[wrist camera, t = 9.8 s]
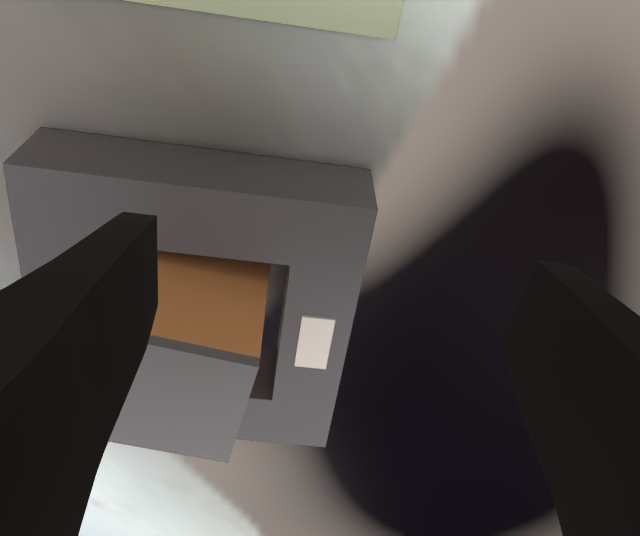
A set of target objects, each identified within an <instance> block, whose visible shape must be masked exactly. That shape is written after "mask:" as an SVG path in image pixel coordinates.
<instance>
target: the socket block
mask: <svg viewBox="0 0 640 536" xmlns="http://www.w3.org/2000/svg"><path fill="white" fill-rule="evenodd" d="M3 169H4V175H5V181H6V187H7V193H8V199H9V205H10V211H11V217H12V223H13V228H14V234H15V240H16V246H17V252H18V258H19V264H20V270H21V276H22V277H24V276H26V275H27V274H29V273H31V272H32V271H34V270H36V269H38V268H39V267H41V266H43V265H44V264H46V263H48V262H49V261H51V260H52V259H54V258H56V257H57V256H59V255H60V254H61V253H63V252H64V251H66V250H67V249H69V248H70V247H72V246H73V245H75V244H76V243H78V242H79V241H81V240H82V239H84V238H85V237H87V236H88V235H90V234H91V233H92V232H94V231H95V230H97V229H98V228H100V227H101V226H102V225H104V224H105V223H107V222H108V221H110V220H111V219H112V218H114V217H115V216H117V215H118V214H120V213H122V212H131V213H140V214H148V215H156V216H157V251H165V252H174V253H182V254H191V255H200V256H209V257H218V258H226V259H235V260H244V261H253V262H261V263H270V264H279V265H287V273H286V280H285V288H284V296H283V303H282V311H281V319H280V326H279V333H278V341H277V348H276V349H267V348H261V353H260V362H259V369H258V372H257V375H256V378H255V381H254V384H253V387H252V390H251V393H250V396H249V399H248V403H247V406H246V409H245V412H244V415H243V418H242V421H241V424H240V427H239V430H238V433H237V436H236V439H240V440H252V441H262V442H274V443H285V444H296V445H307V446H318V447H326V442H327V437H328V433H329V428H330V424H331V419H332V415H333V410H334V406H335V401H336V397H337V392H338V387H339V383H340V379H341V374H342V369H343V365H344V360H345V356H346V351H347V347H348V342H349V337H350V333H351V329H352V324H353V320H354V315H355V310H356V306H357V301H358V297H359V292H360V288H361V283H362V279H363V274H364V270H365V265H366V261H367V256H368V252H369V247H370V242H371V238H372V233H373V229H374V224H375V219H376V215H377V210H378V209H377V203H376V197H375V191H374V186H373V180H372V174H371V170H370V169H362V168H355V167H347V166H339V165H331V164H324V163H316V162H308V161H300V160H292V159H285V158H277V157H269V156H261V155H253V154H246V153H238V152H230V151H222V150H215V149H207V148H199V147H191V146H183V145H176V144H168V143H160V142H152V141H144V140H137V139H129V138H121V137H113V136H106V135H98V134H90V133H82V132H74V131H67V130H59V129H51V128H43V127H40V128H39V129H38V130H37V131H36V132H35V133H34V134H33V135H32V136H31V137H30V138H29V139H28V140H27V141H26V142H25V143H24V144H23V145H22V146H20V147H19V148H18V149H17V150H16V151H15V152H14V153H13V154H12V155H11V156H10V157H9V158H8V159H7V160H6V161H5V162H4V163H3Z"/></svg>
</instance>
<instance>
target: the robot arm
mask: <svg viewBox="0 0 640 536" xmlns="http://www.w3.org/2000/svg"><path fill="white" fill-rule="evenodd" d="M157 307H158V254H157V216H156V215H148V214H140V213H131V212H122V213H120V214H118V215H117V216H115V217H114V218H112V219H111V220H110V221H108V222H107V223H105V224H104V225H102V226H101V227H100V228H98V229H97V230H95V231H94V232H92V233H91V234H90V235H88V236H87V237H85V238H84V239H82V240H81V241H79V242H78V243H76V244H75V245H73V246H72V247H70V248H69V249H67V250H66V251H64V252H63V253H61V254H60V255H59V256H57V257H56V258H54V259H52V260H51V261H49V262H48V263H46V264H44V265H43V266H41V267H39V268H38V269H36V270H34V271H32V272H31V273H29V274H27V275H26V276H24V277H22V278H21V279H19V280H17V281H16V282H14V283H12V284H11V285H9V286H7V287H6V288H4V289H2V290H0V536H78V534H79V530H80V527H81V523H82V520H83V517H84V513H85V510H86V506H87V503H88V500H89V496H90V493H91V490H92V486H93V483H94V479H95V476H96V473H97V470H98V467H99V464H100V462H101V459H102V456H103V453H104V451H105V448H106V446H107V443H108V441H109V438H110V436H111V434H112V431H113V429H114V426H115V424H116V422H117V419H118V417H119V414H120V412H121V410H122V407H123V405H124V402H125V400H126V398H127V395H128V393H129V391H130V388H131V386H132V383H133V381H134V378H135V376H136V374H137V371H138V369H139V366H140V364H141V361H142V359H143V356H144V354H145V351H146V349H147V345H148V341H149V338H150V334H151V331H152V327H153V323H154V319H155V315H156V311H157ZM503 342H504V347H505V353H506V358H507V363H508V369H509V373H510V378H511V382H512V386H513V389H514V392H515V395H516V398H517V401H518V403H519V406H520V409H521V412H522V415H523V418H524V420H525V423H526V426H527V429H528V431H529V434H530V437H531V439H532V442H533V445H534V447H535V450H536V453H537V455H538V458H539V461H540V464H541V466H542V469H543V472H544V474H545V477H546V480H547V483H548V485H549V488H550V491H551V494H552V498H553V501H554V504H555V507H556V510H557V514H558V518H559V522H560V526H561V530H562V534H563V536H640V316H639V315H637V314H636V313H635V312H633V311H632V310H631V309H629V308H628V307H627V306H625V305H624V304H623V303H621V302H620V301H619V300H617V299H616V298H615V297H613V296H612V295H611V294H609V293H608V292H607V291H606V290H604V289H603V288H601V287H600V286H599V285H598V284H596V283H595V282H593V281H592V280H590V279H589V278H588V277H586V276H585V275H584V274H582V273H581V272H579V271H578V270H576V269H574V268H572V267H571V266H569V265H567V264H561V263H553V262H544V261H536V263H535V266H534V268H533V270H532V273H531V275H530V278H529V280H528V282H527V285H526V288H525V290H524V292H523V295H522V297H521V299H520V302H519V304H518V307H517V309H516V312H515V314H514V316H513V319H512V321H511V324H510V326H509V329H508V331H507V334H506V336H505V338H504V341H503Z"/></svg>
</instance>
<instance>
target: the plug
mask: <svg viewBox="0 0 640 536" xmlns="http://www.w3.org/2000/svg"><path fill="white" fill-rule="evenodd" d="M157 254H158V307H157V311H156V315H155V319H154V323H153V327H152V331H151V334H150V338H149V341H148V345H147V349H146V351H145V354H144V356H143V359H142V361H141V364H140V366H139V369H138V371H137V374H136V376H135V378H134V381H133V383H132V386H131V388H130V391H129V393H128V395H127V398H126V400H125V402H124V405H123V407H122V410H121V412H120V414H119V417H118V419H117V422H116V424H115V426H114V429H113V431H112V434H111V436H110V438H109V442H114V443H120V444H125V445H131V446H136V447H142V448H147V449H153V450H159V451H164V452H170V453H175V454H181V455H186V456H192V457H197V458H203V459H209V460H214V461H220V462H225V463H228V461H229V458H230V455H231V452H232V449H233V445H234V442H235V439H236V436H237V433H238V430H239V427H240V424H241V421H242V418H243V415H244V412H245V409H246V406H247V403H248V399H249V396H250V393H251V390H252V387H253V384H254V381H255V378H256V375H257V372H258V369H259V362H260V353H261V344H262V335H263V327H264V318H265V309H266V300H267V291H268V282H269V273H270V263H261V262H253V261H244V260H235V259H226V258H218V257H209V256H200V255H191V254H182V253H174V252H165V251H157Z"/></svg>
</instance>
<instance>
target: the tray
mask: <svg viewBox="0 0 640 536" xmlns="http://www.w3.org/2000/svg"><path fill="white" fill-rule="evenodd" d="M125 1H132V2H139V3H145V4H152V5H159V6H166V7H173V8H180V9H186V10H193V11H200V12H207V13H214V14H220V15H227V16H234V17H241V18H248V19H254V20H261V21H268V22H275V23H282V24H289V25H295V26H302V27H309V28H316V29H323V30H329V31H336V32H343V33H350V34H357V35H363V36H370V37H377V38H384V39H391V40H395V38H396V34H397V29H398V24H399V19H400V14H401V9H402V4H403V0H125Z"/></svg>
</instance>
